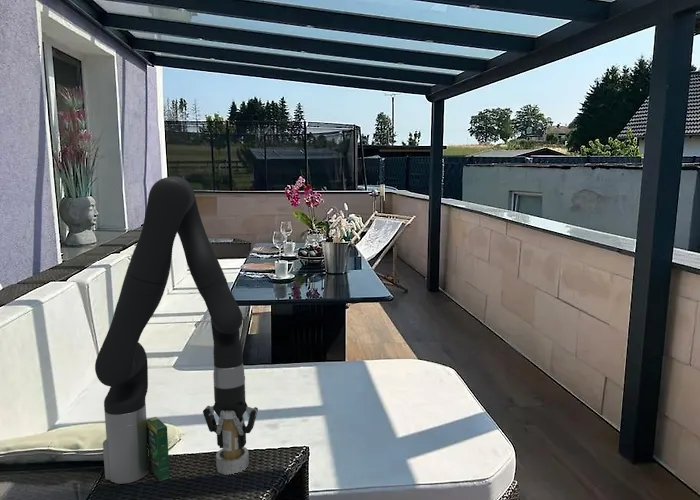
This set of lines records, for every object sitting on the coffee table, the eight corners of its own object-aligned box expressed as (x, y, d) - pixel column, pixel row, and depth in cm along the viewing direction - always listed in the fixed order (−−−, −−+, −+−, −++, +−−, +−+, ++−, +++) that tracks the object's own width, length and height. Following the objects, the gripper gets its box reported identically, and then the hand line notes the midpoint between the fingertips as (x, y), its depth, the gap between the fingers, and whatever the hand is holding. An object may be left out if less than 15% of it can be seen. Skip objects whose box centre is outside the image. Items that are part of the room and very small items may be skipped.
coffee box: (148, 468, 130) (145, 418, 128) (159, 464, 132) (157, 415, 130) (158, 482, 123) (155, 429, 122) (170, 477, 125) (167, 426, 124)
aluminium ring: (212, 474, 127) (211, 460, 126) (223, 457, 134) (222, 445, 134) (243, 475, 126) (242, 461, 126) (252, 459, 134) (251, 446, 133)
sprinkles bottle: (244, 460, 129) (242, 409, 128) (226, 466, 127) (224, 413, 125) (237, 453, 133) (235, 403, 132) (220, 458, 131) (218, 407, 129)
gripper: (195, 386, 125) (198, 453, 127) (252, 388, 123) (255, 455, 125) (207, 375, 132) (210, 439, 134) (261, 377, 131) (263, 441, 132)
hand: (232, 446), depth 130 cm, fingers closed on sprinkles bottle, 4 cm apart
